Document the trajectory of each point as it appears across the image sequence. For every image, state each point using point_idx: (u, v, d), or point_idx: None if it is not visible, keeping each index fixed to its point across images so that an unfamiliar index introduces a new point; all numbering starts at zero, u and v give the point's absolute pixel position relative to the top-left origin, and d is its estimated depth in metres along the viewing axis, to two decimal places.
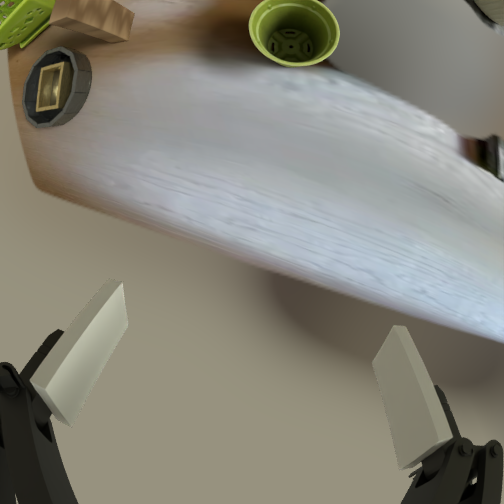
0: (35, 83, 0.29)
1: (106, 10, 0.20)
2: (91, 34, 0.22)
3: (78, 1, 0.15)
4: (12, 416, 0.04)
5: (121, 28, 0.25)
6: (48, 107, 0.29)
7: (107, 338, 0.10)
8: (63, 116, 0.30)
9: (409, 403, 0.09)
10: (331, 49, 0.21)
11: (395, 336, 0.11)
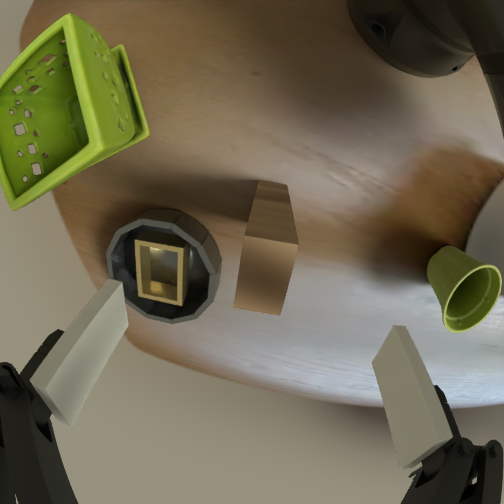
0: (120, 246, 0.31)
1: None
2: None
3: None
4: (12, 416, 0.04)
5: None
6: (163, 299, 0.32)
7: (106, 338, 0.10)
8: None
9: (409, 403, 0.09)
10: (486, 315, 0.24)
11: (395, 336, 0.11)
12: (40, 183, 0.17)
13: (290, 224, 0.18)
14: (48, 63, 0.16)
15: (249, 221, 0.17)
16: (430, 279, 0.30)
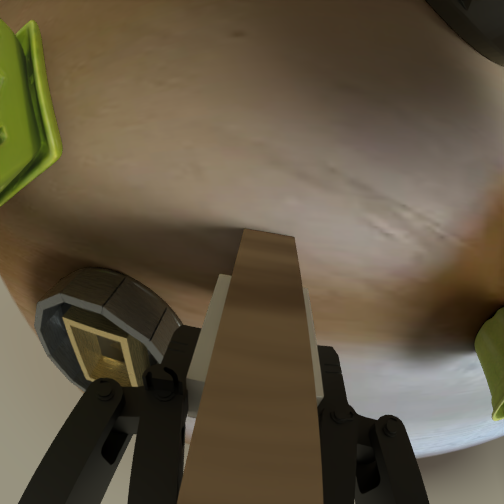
0: (54, 314, 0.19)
1: None
2: None
3: None
4: (157, 421, 0.06)
5: None
6: None
7: None
8: None
9: None
10: None
11: None
12: None
13: (308, 433, 0.06)
14: None
15: (194, 444, 0.05)
16: (480, 353, 0.18)
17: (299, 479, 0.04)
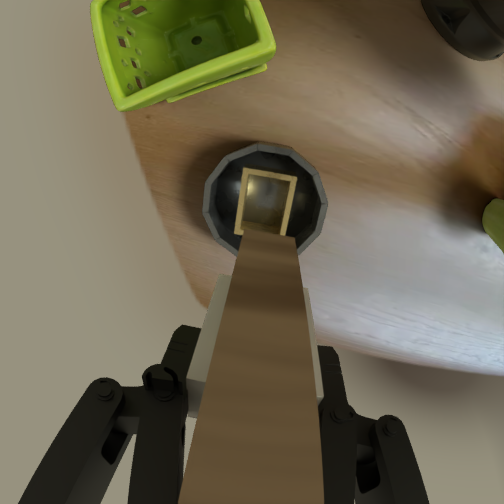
0: (216, 180, 0.31)
1: None
2: None
3: None
4: (157, 421, 0.06)
5: None
6: None
7: None
8: None
9: None
10: None
11: None
12: (180, 74, 0.17)
13: (309, 434, 0.06)
14: None
15: (194, 445, 0.05)
16: (487, 225, 0.29)
17: (300, 480, 0.04)
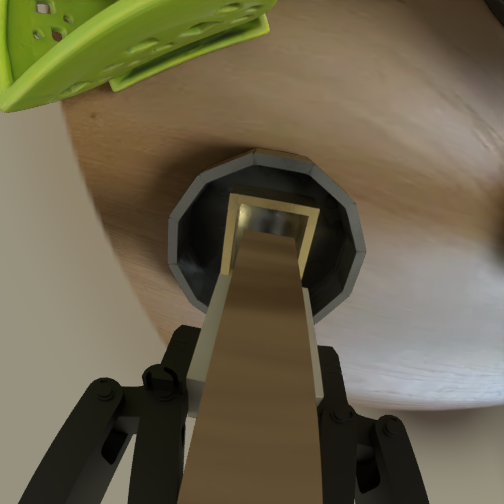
0: (188, 210, 0.20)
1: None
2: None
3: None
4: (157, 421, 0.06)
5: None
6: None
7: None
8: None
9: None
10: None
11: None
12: (88, 21, 0.05)
13: (307, 434, 0.06)
14: None
15: (193, 446, 0.05)
16: None
17: (298, 481, 0.04)
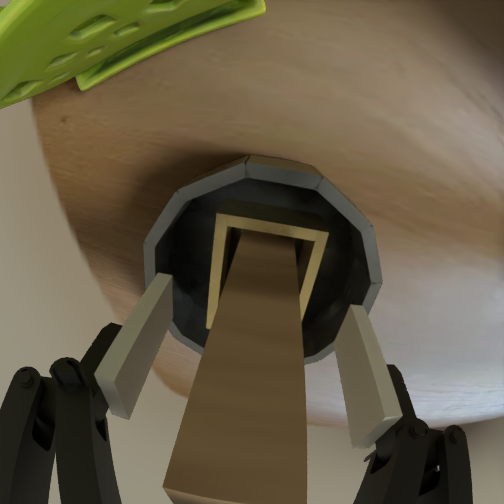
0: (169, 231, 0.17)
1: None
2: None
3: None
4: (70, 413, 0.06)
5: None
6: None
7: (158, 330, 0.12)
8: None
9: (361, 379, 0.10)
10: None
11: (351, 315, 0.12)
12: (10, 2, 0.02)
13: (295, 404, 0.06)
14: None
15: (189, 409, 0.06)
16: None
17: (285, 446, 0.05)
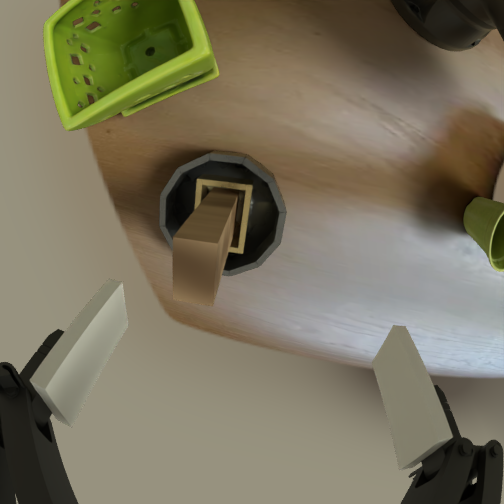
0: (173, 192, 0.30)
1: (229, 229, 0.25)
2: None
3: (217, 268, 0.20)
4: (12, 416, 0.04)
5: (233, 227, 0.30)
6: None
7: (107, 338, 0.10)
8: None
9: (409, 403, 0.09)
10: None
11: (395, 336, 0.11)
12: (117, 90, 0.16)
13: (220, 226, 0.20)
14: None
15: (183, 225, 0.20)
16: (468, 226, 0.29)
17: (214, 232, 0.19)
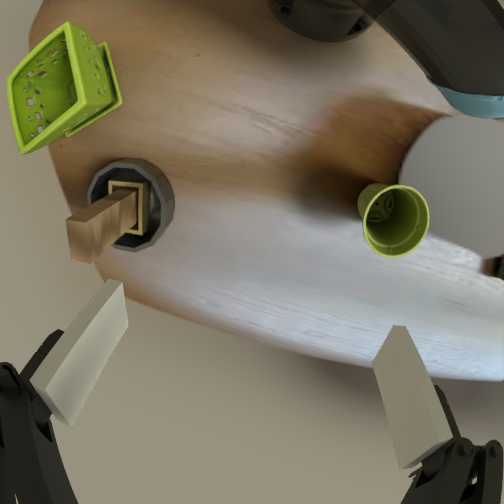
0: (98, 190, 0.38)
1: (118, 215, 0.33)
2: None
3: (93, 239, 0.27)
4: (12, 416, 0.04)
5: (134, 215, 0.38)
6: (128, 230, 0.39)
7: (107, 338, 0.10)
8: None
9: (409, 403, 0.09)
10: (418, 242, 0.31)
11: (395, 336, 0.11)
12: (44, 130, 0.23)
13: (97, 213, 0.28)
14: (52, 55, 0.23)
15: (77, 212, 0.27)
16: (359, 212, 0.37)
17: (89, 216, 0.27)
